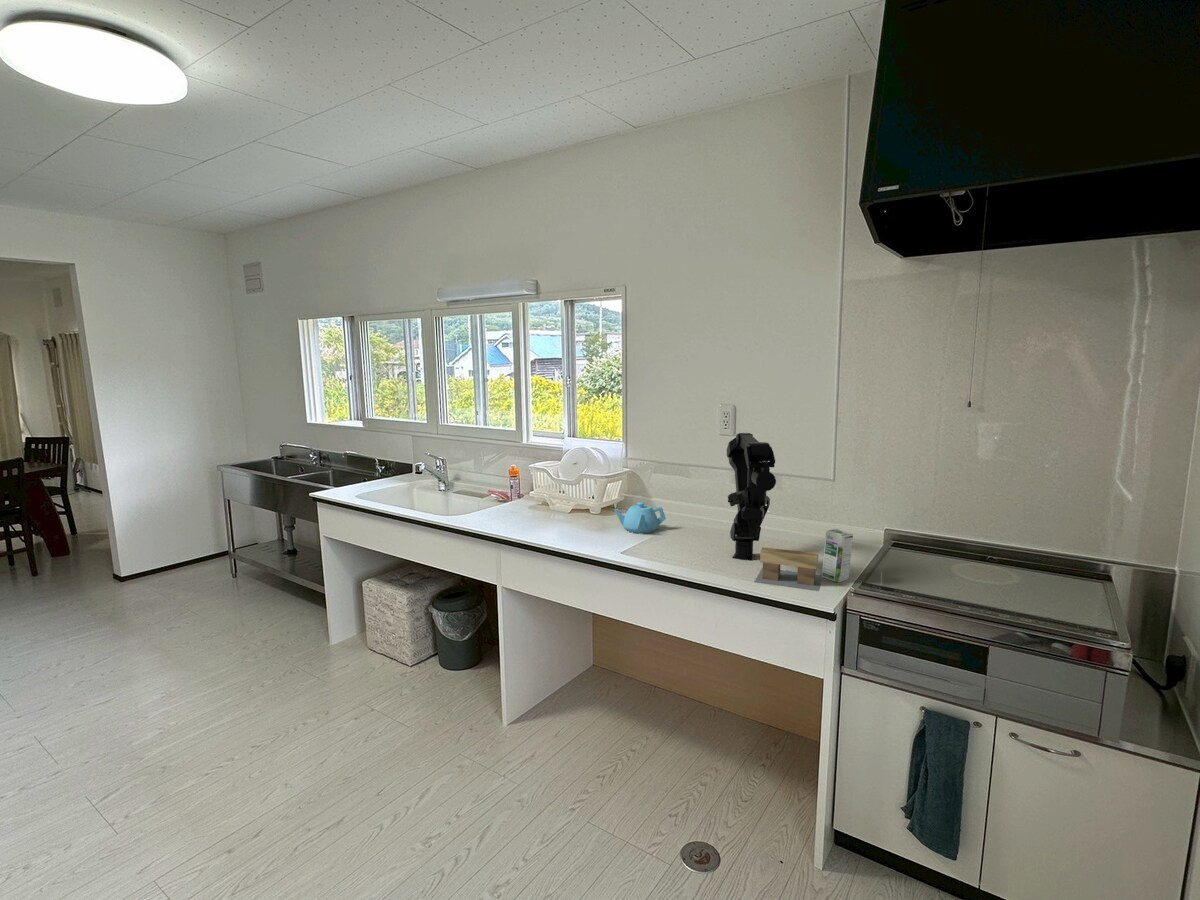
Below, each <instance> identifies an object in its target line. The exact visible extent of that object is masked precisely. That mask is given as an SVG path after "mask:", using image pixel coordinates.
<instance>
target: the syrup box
mask: <svg viewBox="0 0 1200 900" xmlns="http://www.w3.org/2000/svg"><path fill="white" fill-rule="evenodd" d="M824 537H825V539H824V549H823V550H824V551H823V558H822V559H823V560H822V569H821V575H822V579H827V580H829V581H831V582H834V583H841V582H843V581H847V580H849V575H850V568H851V559H852V548H853V539H854V533H853V532H852V533H851V532H848V531H844V530H841V529H838V528H834V529H832V528H831V529H829V530H826V532H825V536H824Z"/></svg>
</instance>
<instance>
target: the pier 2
mask: <svg viewBox="0 0 1200 900" xmlns="http://www.w3.org/2000/svg"><path fill="white" fill-rule="evenodd" d="M816 570H817V569H813V568H805V567H797V572H798V579H797V584H804V585H812V586H814V582H815V574H816Z"/></svg>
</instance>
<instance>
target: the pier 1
mask: <svg viewBox="0 0 1200 900" xmlns="http://www.w3.org/2000/svg"><path fill="white" fill-rule="evenodd" d="M762 568H763V575H762V579H767V580H775V581H778V580H779V577H780V570H781V565H780V564H772V563H763V562H762Z"/></svg>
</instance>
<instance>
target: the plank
mask: <svg viewBox="0 0 1200 900" xmlns="http://www.w3.org/2000/svg"><path fill="white" fill-rule="evenodd" d="M759 554H760V556H759V562H760V563H762V564H763V563H772V564H780V566H782V565H783V566H790V567H797V568H798V567H805V568H813V569H816V570H817V568H818V566H819V553H817V552H811V551H810V552H809V551H802V550H793V549H792V550H791V549H783V548H774V547H765V546H762V547H761V549H760V553H759Z"/></svg>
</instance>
